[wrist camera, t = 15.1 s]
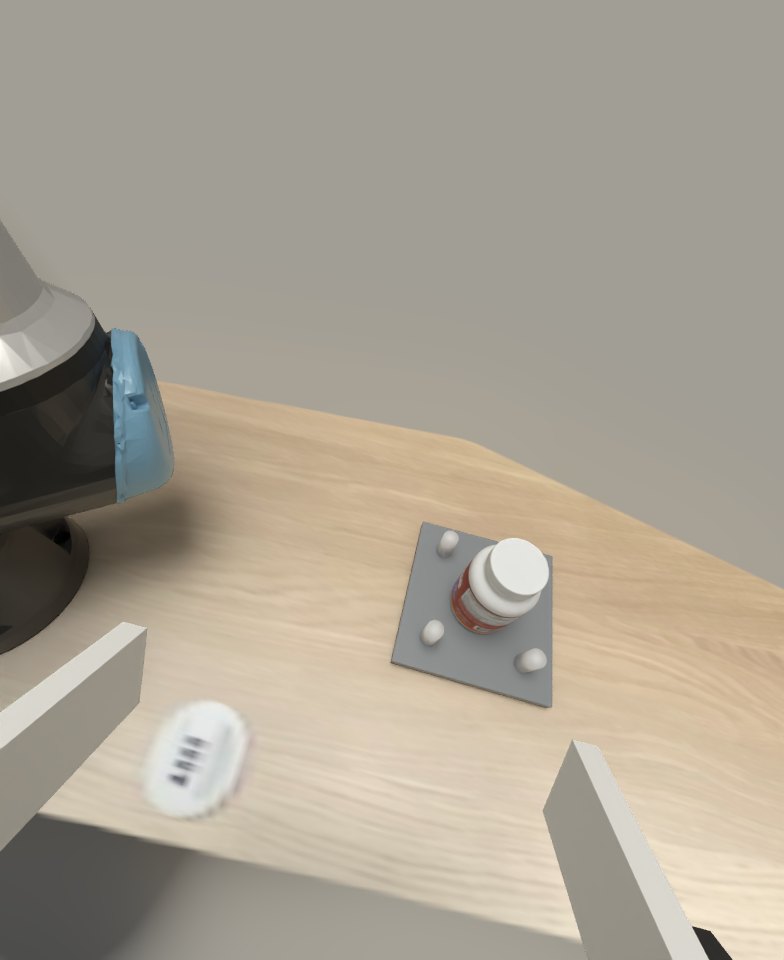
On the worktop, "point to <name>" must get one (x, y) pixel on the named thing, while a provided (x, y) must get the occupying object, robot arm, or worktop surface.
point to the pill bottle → (499, 585)
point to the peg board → (459, 651)
